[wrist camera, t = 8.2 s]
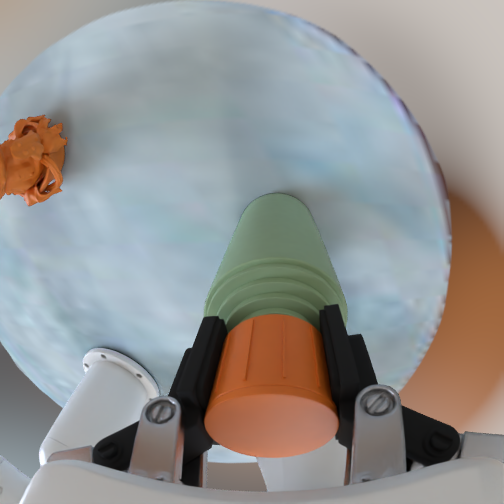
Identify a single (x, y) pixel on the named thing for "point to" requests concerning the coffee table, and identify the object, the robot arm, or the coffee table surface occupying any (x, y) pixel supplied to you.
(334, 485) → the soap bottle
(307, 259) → the bottle
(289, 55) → the coffee table surface
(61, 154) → the orange sculpture
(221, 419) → the cap
